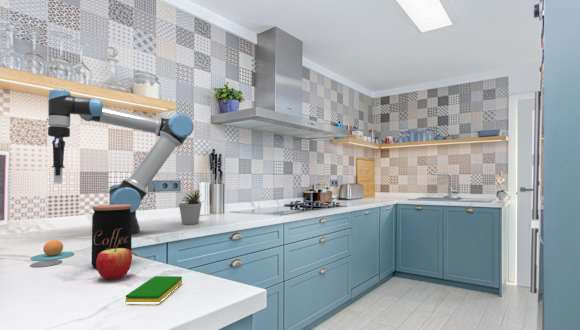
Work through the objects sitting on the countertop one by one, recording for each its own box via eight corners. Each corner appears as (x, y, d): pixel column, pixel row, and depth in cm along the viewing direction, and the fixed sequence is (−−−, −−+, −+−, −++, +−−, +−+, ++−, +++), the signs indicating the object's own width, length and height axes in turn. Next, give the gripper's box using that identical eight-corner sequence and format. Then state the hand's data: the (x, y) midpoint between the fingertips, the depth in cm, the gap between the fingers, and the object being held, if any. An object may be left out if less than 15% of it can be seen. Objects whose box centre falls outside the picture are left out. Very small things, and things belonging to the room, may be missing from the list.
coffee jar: (86, 271, 93) (87, 207, 94) (97, 262, 103) (98, 204, 104) (127, 268, 96) (128, 206, 97) (134, 259, 106) (134, 203, 107)
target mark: (78, 251, 119) (78, 250, 119) (68, 258, 108) (68, 258, 108) (38, 253, 115) (38, 253, 115) (24, 262, 104) (24, 261, 104)
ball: (63, 255, 111) (65, 251, 116) (61, 239, 111) (62, 236, 116) (43, 260, 109) (45, 255, 113) (40, 243, 108) (43, 240, 113)
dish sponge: (182, 285, 82) (182, 275, 82) (158, 307, 68) (158, 295, 68) (154, 285, 82) (154, 275, 82) (124, 307, 68) (124, 295, 68)
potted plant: (197, 225, 183) (197, 189, 183) (174, 225, 185) (174, 189, 185) (207, 222, 195) (207, 188, 196) (185, 222, 197) (185, 188, 198)
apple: (137, 277, 87) (138, 239, 87) (102, 285, 81) (103, 244, 81) (124, 271, 93) (125, 236, 93) (91, 279, 86) (91, 240, 87)
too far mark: (65, 259, 107) (65, 259, 107) (57, 265, 99) (57, 265, 99) (36, 261, 104) (36, 261, 104) (25, 268, 97) (25, 267, 97)
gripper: (51, 128, 142) (49, 183, 141) (45, 124, 130) (43, 183, 129) (71, 129, 145) (70, 183, 144) (67, 125, 134) (66, 183, 133)
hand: (58, 183), depth 137 cm, fingers closed
